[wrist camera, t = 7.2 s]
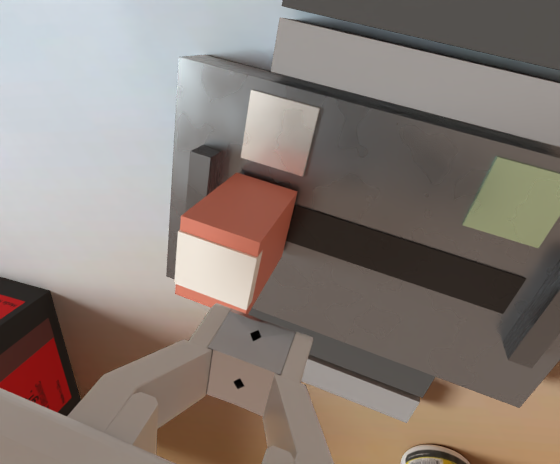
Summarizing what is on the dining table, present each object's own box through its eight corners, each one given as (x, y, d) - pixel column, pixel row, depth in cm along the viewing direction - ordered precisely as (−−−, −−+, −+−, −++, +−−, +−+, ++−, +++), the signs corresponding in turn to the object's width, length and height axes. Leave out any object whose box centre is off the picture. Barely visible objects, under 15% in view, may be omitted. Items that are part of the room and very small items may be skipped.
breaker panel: (205, 54, 18) (163, 58, 15) (658, 172, 15) (722, 208, 12) (187, 255, 24) (154, 287, 21) (508, 370, 21) (525, 429, 18)
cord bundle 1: (244, 279, 24) (231, 298, 22) (434, 348, 22) (436, 374, 20) (234, 329, 26) (222, 349, 24) (407, 395, 24) (406, 423, 22)
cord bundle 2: (305, -47, 15) (292, -58, 14) (626, 18, 13) (657, 15, 12) (284, 67, 18) (270, 71, 16) (556, 138, 16) (574, 150, 14)
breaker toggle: (236, 172, 18) (179, 216, 13) (298, 191, 17) (260, 244, 13) (226, 237, 19) (173, 295, 15) (282, 256, 19) (244, 321, 14)
